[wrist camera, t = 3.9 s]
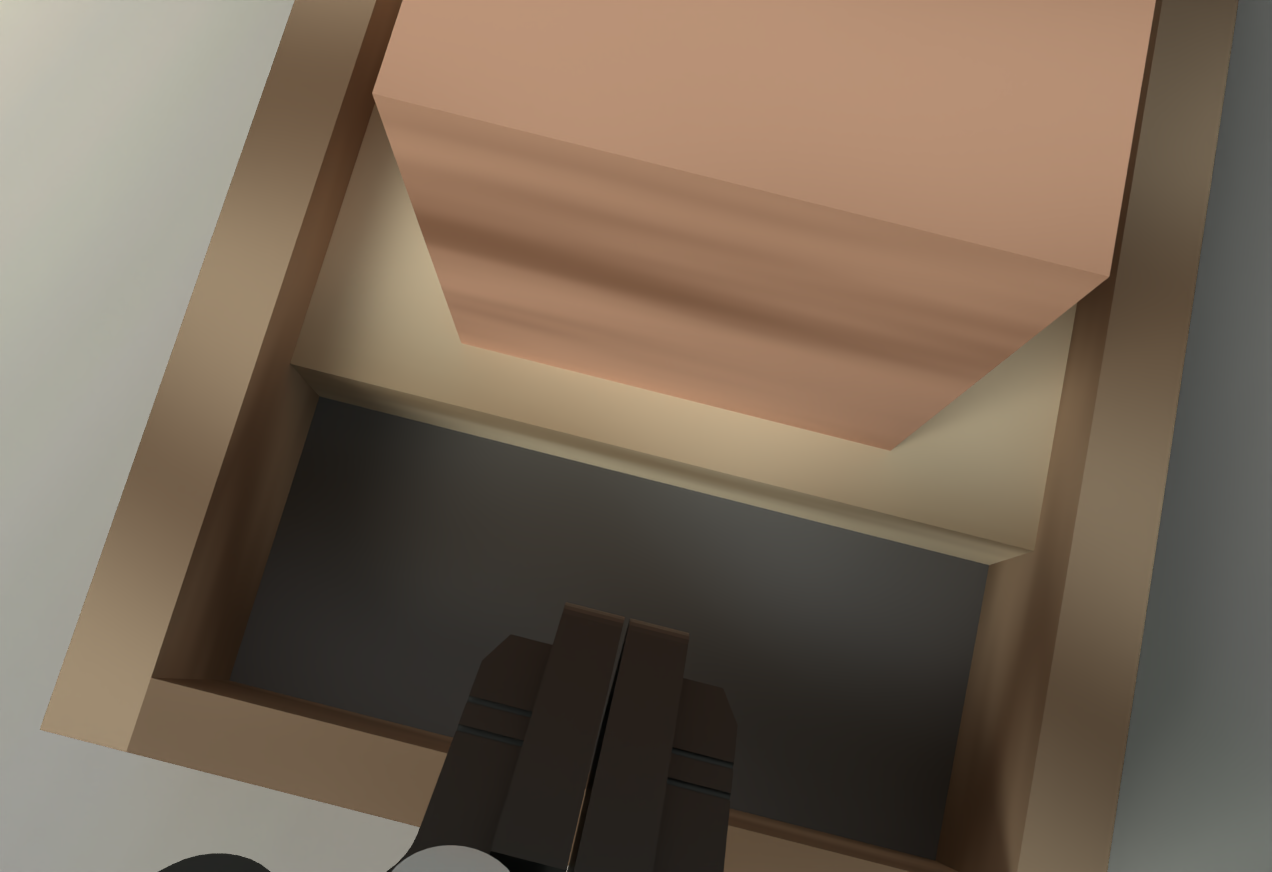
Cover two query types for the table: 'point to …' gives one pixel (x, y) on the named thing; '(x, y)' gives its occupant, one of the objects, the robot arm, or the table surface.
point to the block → (767, 188)
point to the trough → (639, 518)
